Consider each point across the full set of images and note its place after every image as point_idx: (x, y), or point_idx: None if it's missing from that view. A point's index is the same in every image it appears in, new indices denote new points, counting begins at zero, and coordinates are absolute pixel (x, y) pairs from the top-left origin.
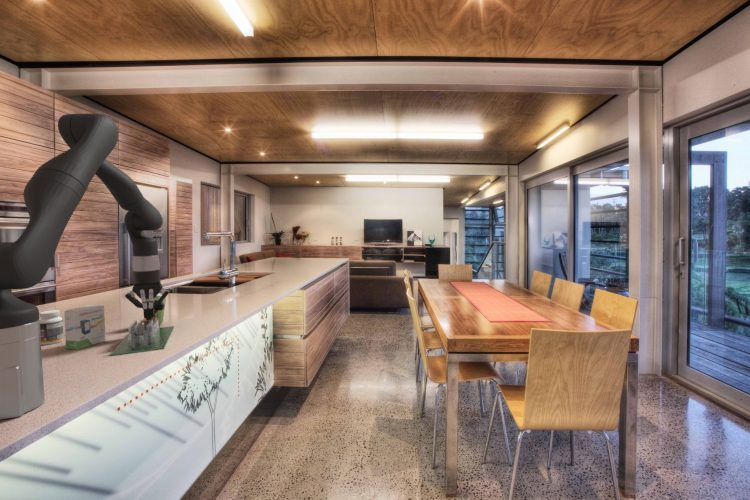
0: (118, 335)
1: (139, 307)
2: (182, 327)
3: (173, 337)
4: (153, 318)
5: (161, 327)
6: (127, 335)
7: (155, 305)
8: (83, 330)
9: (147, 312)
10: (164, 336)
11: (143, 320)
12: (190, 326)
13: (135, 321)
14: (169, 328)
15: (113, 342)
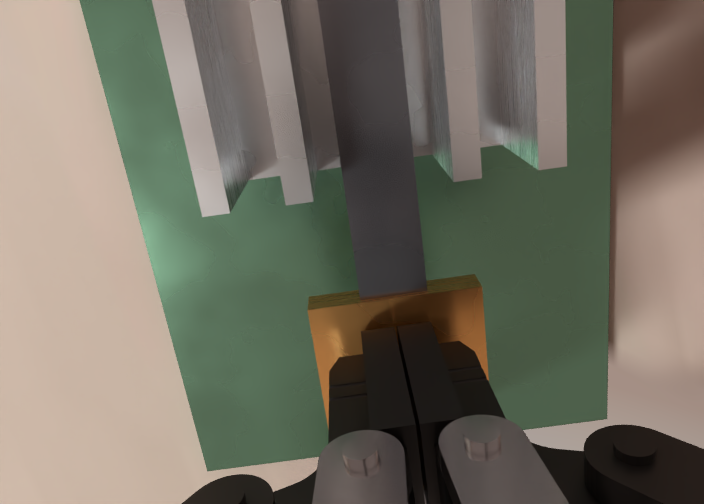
0: (696, 321)
1: (601, 435)
2: (109, 432)
3: (43, 33)
4: None
5: None
6: (601, 246)
7: (266, 489)
8: None
9: (422, 382)
10: (149, 56)
11: (462, 299)
12: (33, 446)
13: (541, 86)
14: (221, 395)
15: (698, 49)
